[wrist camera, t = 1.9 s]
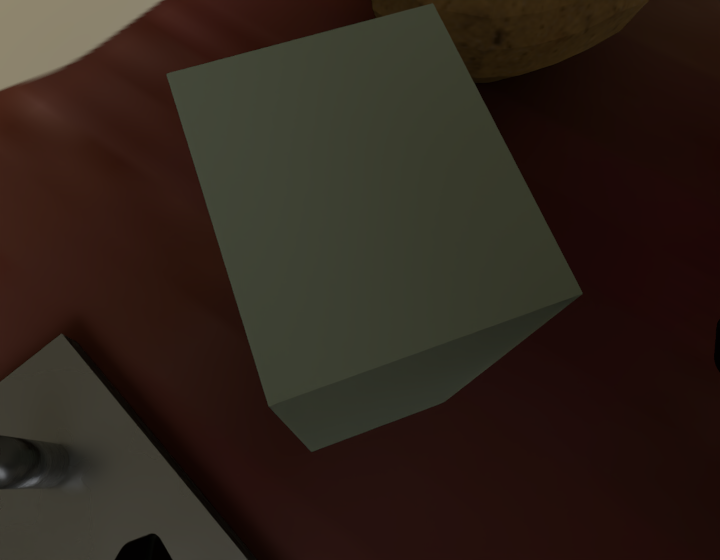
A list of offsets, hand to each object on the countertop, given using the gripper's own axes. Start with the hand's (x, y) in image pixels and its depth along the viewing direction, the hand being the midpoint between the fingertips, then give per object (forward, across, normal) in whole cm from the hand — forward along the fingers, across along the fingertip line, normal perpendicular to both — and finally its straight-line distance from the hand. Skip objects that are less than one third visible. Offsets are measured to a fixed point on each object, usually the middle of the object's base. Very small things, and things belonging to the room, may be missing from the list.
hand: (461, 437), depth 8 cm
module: (+12, 0, +6) cm, 13 cm away
